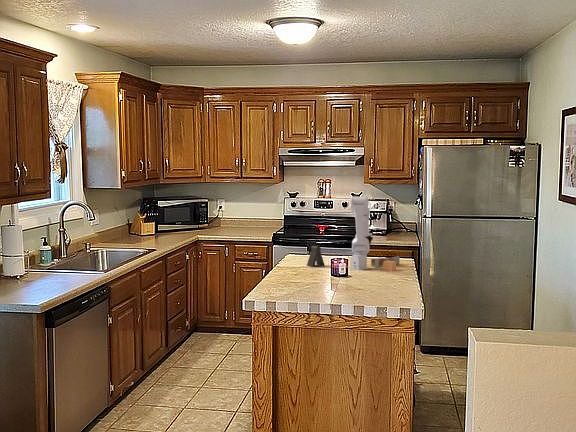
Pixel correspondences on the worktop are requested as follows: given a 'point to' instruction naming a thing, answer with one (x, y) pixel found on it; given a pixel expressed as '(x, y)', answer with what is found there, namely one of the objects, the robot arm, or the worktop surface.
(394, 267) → the terracotta rectangular block
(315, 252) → the phone stand
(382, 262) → the gate door
